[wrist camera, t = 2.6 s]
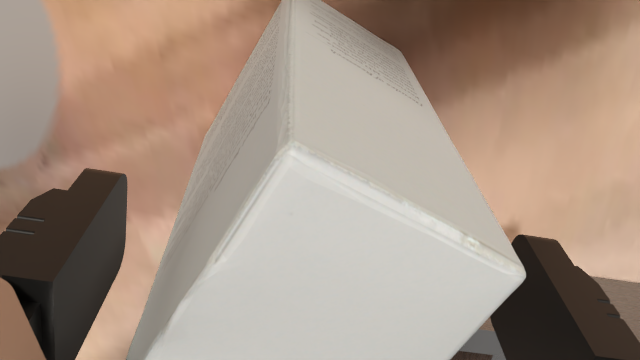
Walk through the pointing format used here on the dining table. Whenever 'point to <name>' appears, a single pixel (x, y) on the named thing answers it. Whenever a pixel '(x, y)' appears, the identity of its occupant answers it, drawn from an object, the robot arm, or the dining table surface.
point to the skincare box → (326, 214)
